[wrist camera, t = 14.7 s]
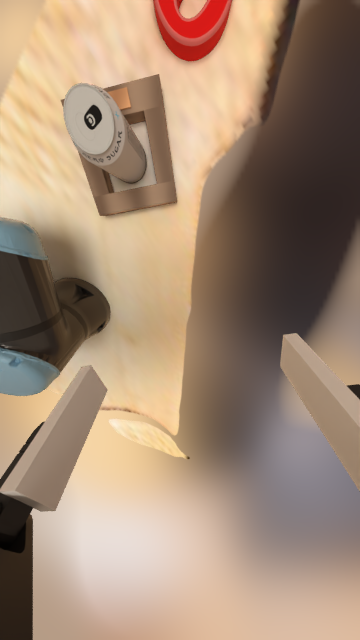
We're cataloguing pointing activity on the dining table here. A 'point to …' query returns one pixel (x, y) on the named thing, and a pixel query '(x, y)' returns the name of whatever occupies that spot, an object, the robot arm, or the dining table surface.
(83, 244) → the dining table surface
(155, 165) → the frame
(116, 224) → the dining table surface
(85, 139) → the energy drink can
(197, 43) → the decorative ornament
